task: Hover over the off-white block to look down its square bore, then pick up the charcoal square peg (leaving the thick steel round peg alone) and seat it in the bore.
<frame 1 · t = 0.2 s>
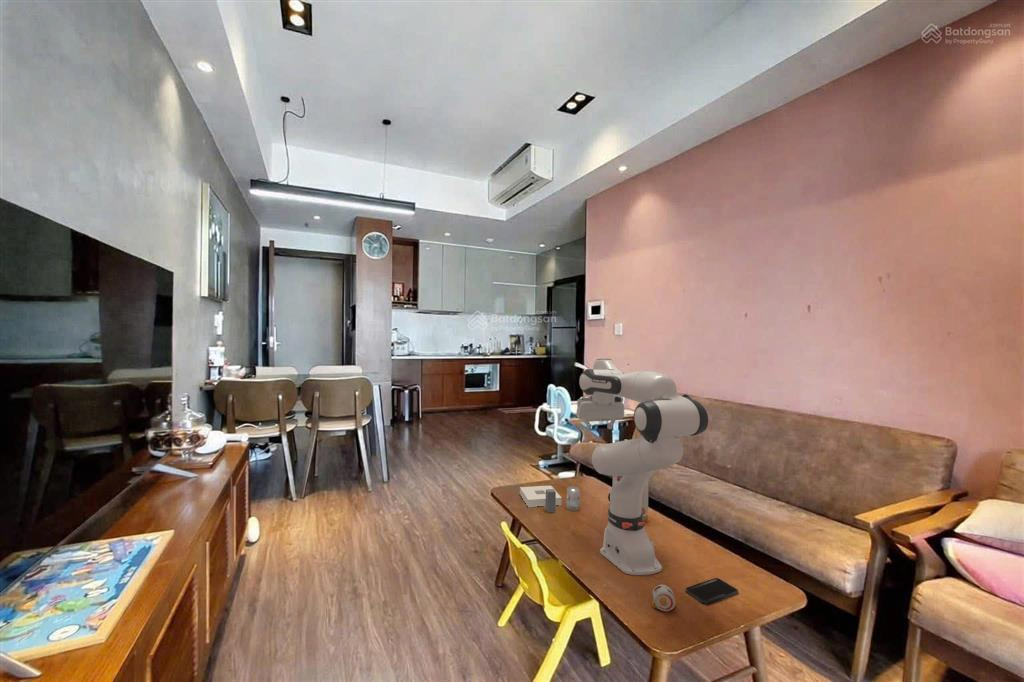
hand: (599, 429, 171), 39 cm above the table, tool pointing down, fingers open, 8 cm apart
end cap: (620, 508, 186), on the table
socket block: (540, 499, 194), on the table
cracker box: (629, 520, 174), on the table
square peg: (550, 510, 181), on the table
phone: (711, 594, 124), on the table
roller toy: (663, 608, 116), on the table
round peg: (572, 508, 184), on the table
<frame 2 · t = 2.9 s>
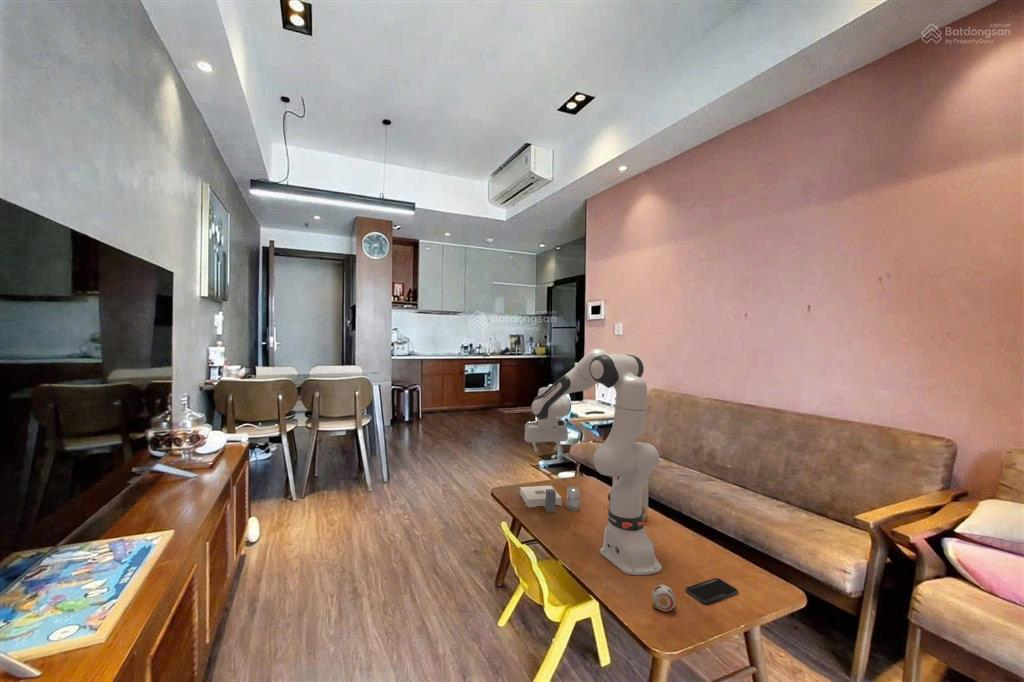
hand: (546, 451, 188), 25 cm above the table, tool pointing down, fingers open, 8 cm apart
nothing on the table moved.
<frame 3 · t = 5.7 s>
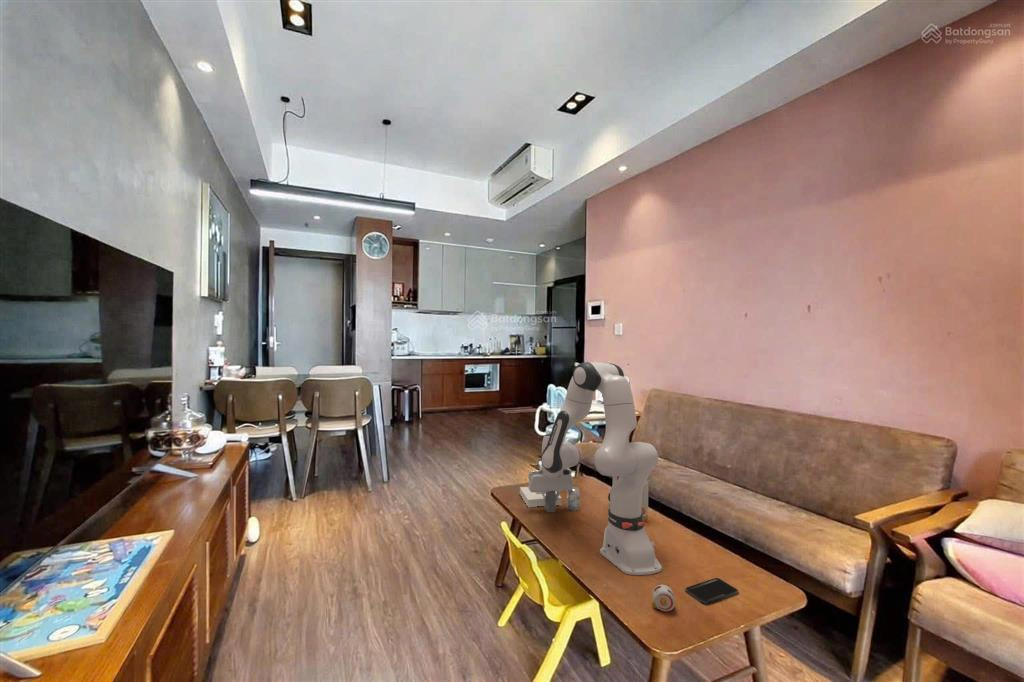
hand: (550, 500, 181), 5 cm above the table, tool pointing down, fingers closed on square peg, 3 cm apart
square peg: (550, 510, 181), on the table, touching gripper
everything else where it was.
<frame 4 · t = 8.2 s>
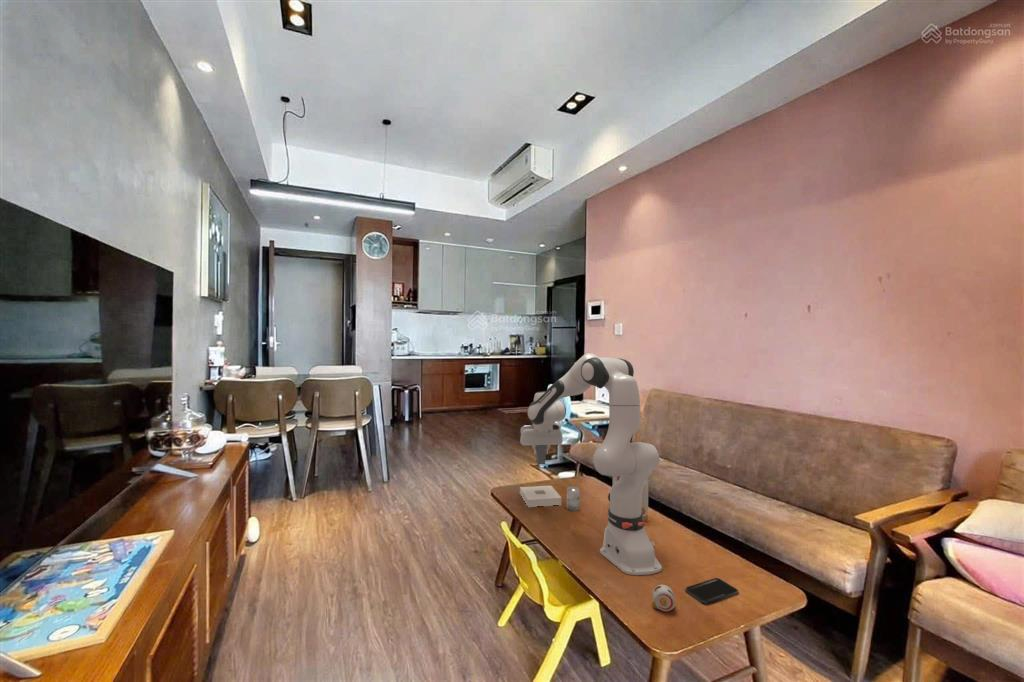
hand: (540, 454, 194), 22 cm above the table, tool pointing down, fingers closed on square peg, 3 cm apart
square peg: (540, 463, 194), point 17 cm above the table, touching gripper
everything else where it was.
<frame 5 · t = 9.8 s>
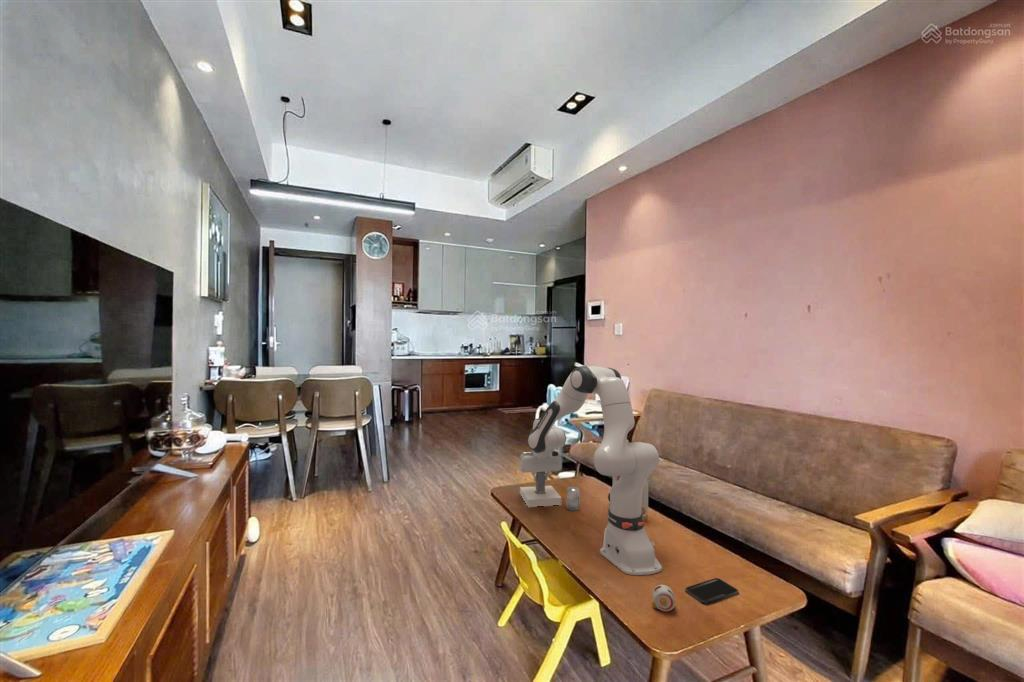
hand: (540, 480, 194), 9 cm above the table, tool pointing down, fingers closed on square peg, 3 cm apart
square peg: (540, 490, 194), point 5 cm above the table, touching gripper
everything else where it was.
when the fingers open (5 cm above the table, at t = 10.8 s): square peg drops 1 cm, resting in socket block.
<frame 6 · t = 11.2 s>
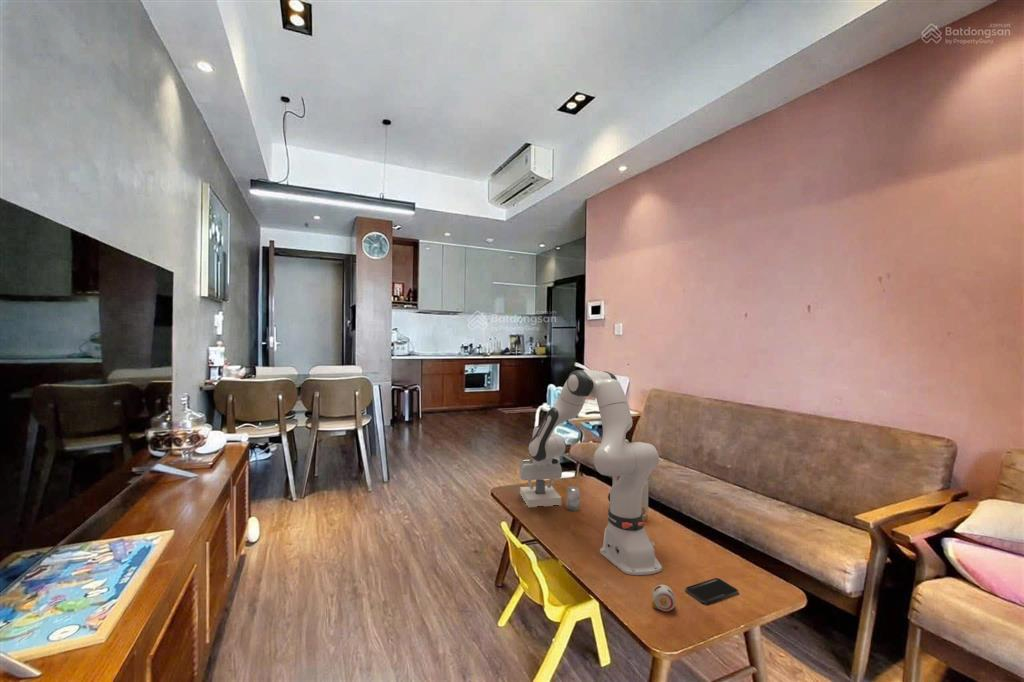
hand: (540, 488, 194), 5 cm above the table, tool pointing down, fingers open, 7 cm apart
square peg: (540, 499, 194), resting in socket block
everything else where it was.
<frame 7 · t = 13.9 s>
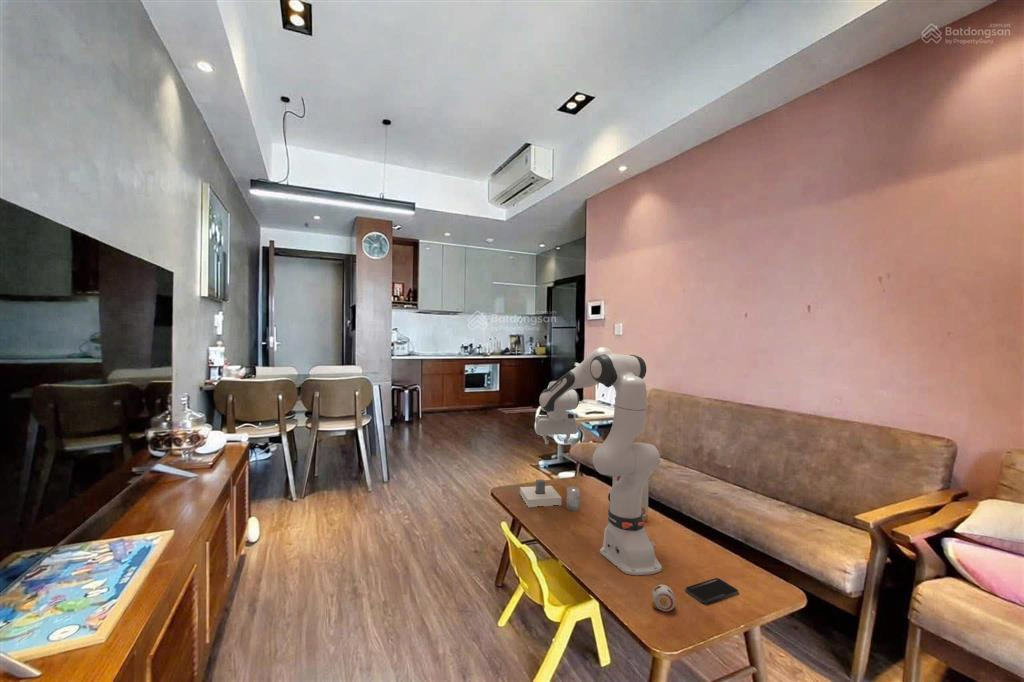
hand: (556, 443, 192), 27 cm above the table, tool pointing down, fingers open, 8 cm apart
nothing on the table moved.
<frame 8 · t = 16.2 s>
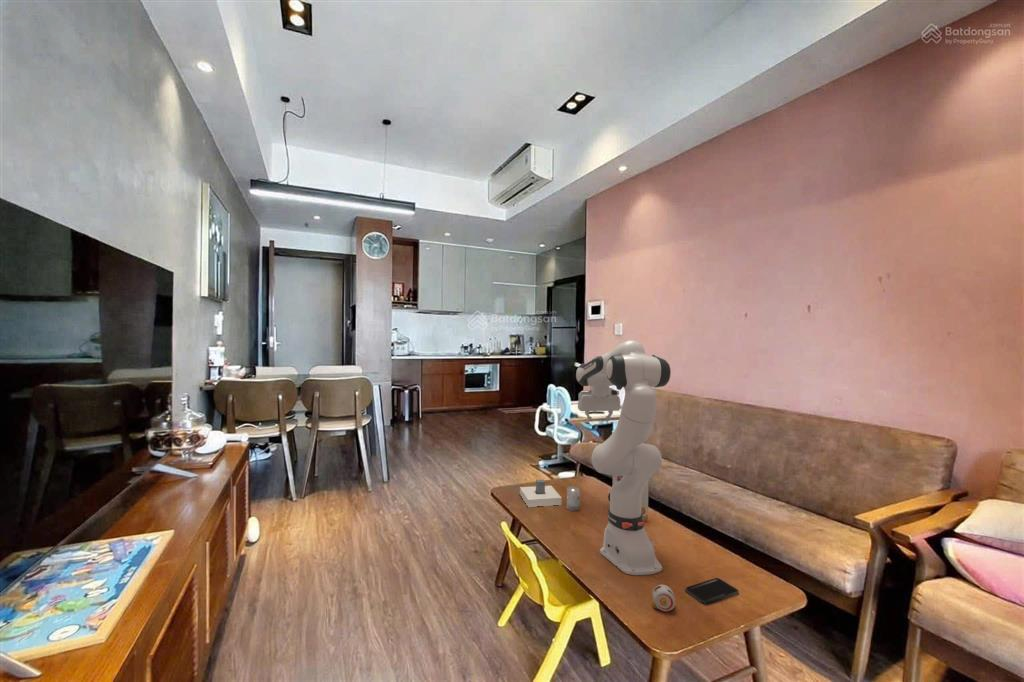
hand: (598, 420, 190), 39 cm above the table, tool pointing down, fingers open, 8 cm apart
nothing on the table moved.
at the end: square peg 0.0 cm off-centre on the socket block, point 0.0 cm above the socket block's base; square peg tilted 0°; round peg moved 0.0 cm from its start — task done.
